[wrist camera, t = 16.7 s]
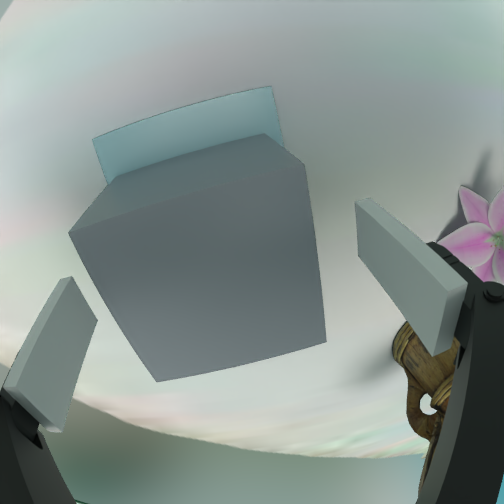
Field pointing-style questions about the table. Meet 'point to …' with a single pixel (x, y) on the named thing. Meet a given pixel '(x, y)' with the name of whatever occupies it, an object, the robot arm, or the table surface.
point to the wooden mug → (425, 386)
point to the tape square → (188, 131)
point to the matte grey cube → (208, 258)
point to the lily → (480, 236)
